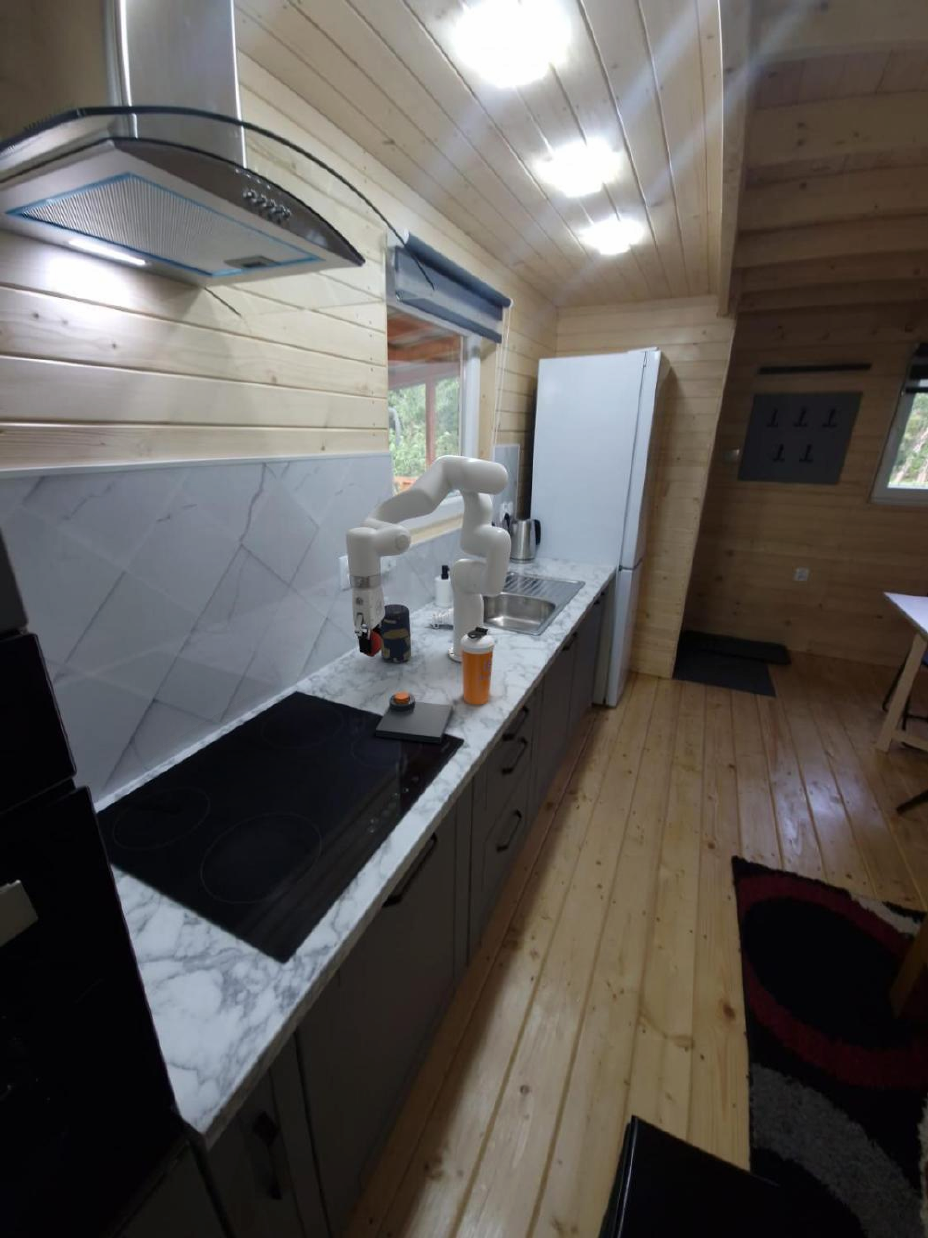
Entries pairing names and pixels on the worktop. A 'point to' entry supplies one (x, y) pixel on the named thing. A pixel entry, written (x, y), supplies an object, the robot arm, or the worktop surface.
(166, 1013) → the worktop surface
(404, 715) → the scale
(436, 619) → the rocket engine
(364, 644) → the robot arm
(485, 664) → the shaker bottle
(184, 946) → the worktop surface
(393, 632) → the canister
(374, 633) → the onion
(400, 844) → the worktop surface
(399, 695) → the button
